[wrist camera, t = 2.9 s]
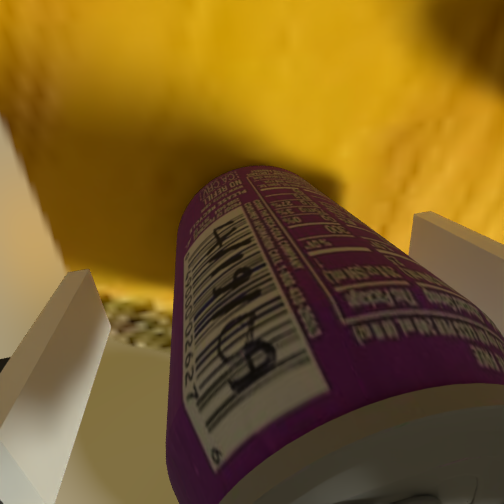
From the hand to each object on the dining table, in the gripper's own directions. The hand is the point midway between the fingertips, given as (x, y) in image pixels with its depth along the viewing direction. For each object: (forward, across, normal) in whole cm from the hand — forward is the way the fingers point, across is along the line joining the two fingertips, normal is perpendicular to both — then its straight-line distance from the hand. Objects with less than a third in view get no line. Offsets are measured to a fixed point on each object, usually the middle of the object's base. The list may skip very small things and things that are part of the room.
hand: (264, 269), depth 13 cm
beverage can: (+3, 0, 0) cm, 3 cm away
